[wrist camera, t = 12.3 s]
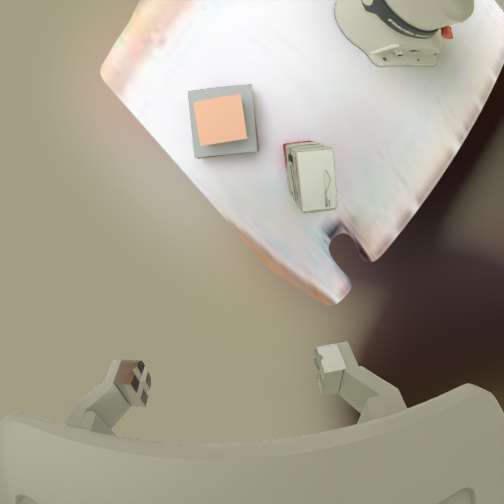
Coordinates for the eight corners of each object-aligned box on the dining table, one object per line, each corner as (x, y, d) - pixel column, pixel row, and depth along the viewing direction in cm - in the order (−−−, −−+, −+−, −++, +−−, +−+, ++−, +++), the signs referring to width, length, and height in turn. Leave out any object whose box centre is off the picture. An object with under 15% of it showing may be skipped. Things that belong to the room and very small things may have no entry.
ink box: (281, 143, 42) (296, 150, 32) (310, 140, 42) (334, 146, 32) (288, 192, 46) (303, 215, 36) (315, 189, 46) (338, 210, 35)
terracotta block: (240, 99, 31) (240, 93, 25) (245, 136, 33) (247, 138, 27) (200, 105, 31) (193, 102, 25) (206, 142, 33) (200, 146, 27)
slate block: (250, 89, 34) (251, 84, 30) (254, 148, 38) (257, 151, 34) (194, 95, 34) (187, 91, 30) (200, 153, 38) (194, 158, 34)
